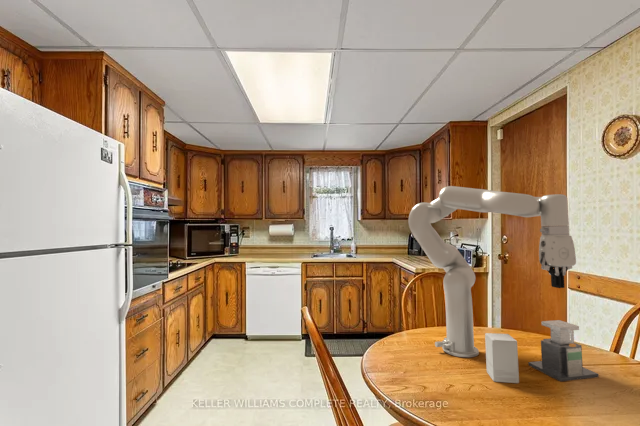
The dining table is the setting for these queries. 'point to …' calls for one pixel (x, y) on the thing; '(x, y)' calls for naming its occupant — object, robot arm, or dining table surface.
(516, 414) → the dining table surface
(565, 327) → the grey flanged block
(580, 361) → the tester
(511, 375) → the supplement box
